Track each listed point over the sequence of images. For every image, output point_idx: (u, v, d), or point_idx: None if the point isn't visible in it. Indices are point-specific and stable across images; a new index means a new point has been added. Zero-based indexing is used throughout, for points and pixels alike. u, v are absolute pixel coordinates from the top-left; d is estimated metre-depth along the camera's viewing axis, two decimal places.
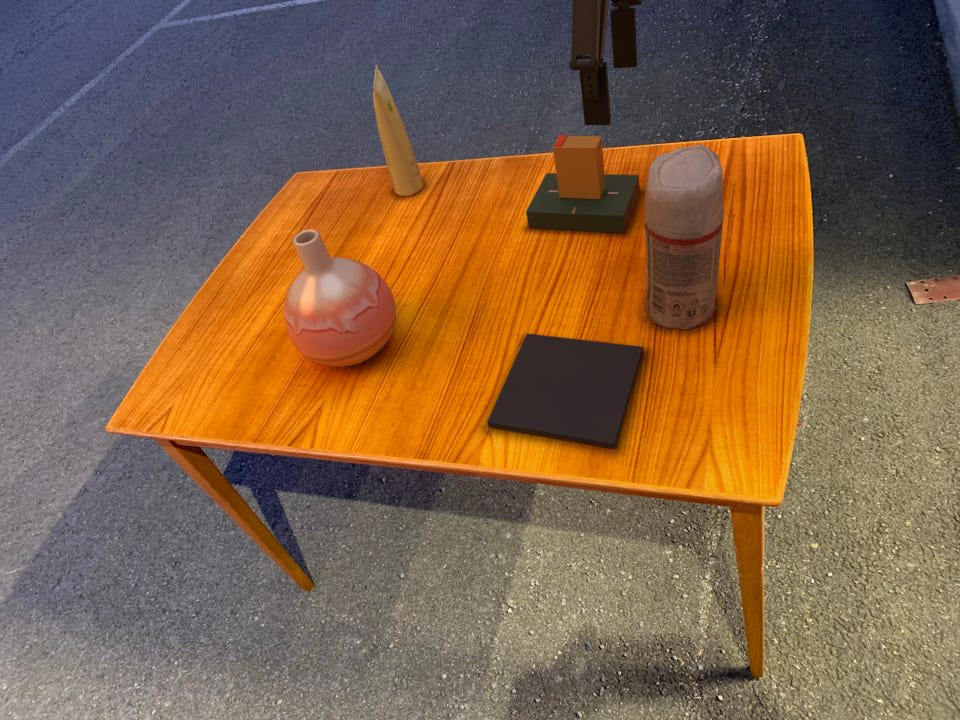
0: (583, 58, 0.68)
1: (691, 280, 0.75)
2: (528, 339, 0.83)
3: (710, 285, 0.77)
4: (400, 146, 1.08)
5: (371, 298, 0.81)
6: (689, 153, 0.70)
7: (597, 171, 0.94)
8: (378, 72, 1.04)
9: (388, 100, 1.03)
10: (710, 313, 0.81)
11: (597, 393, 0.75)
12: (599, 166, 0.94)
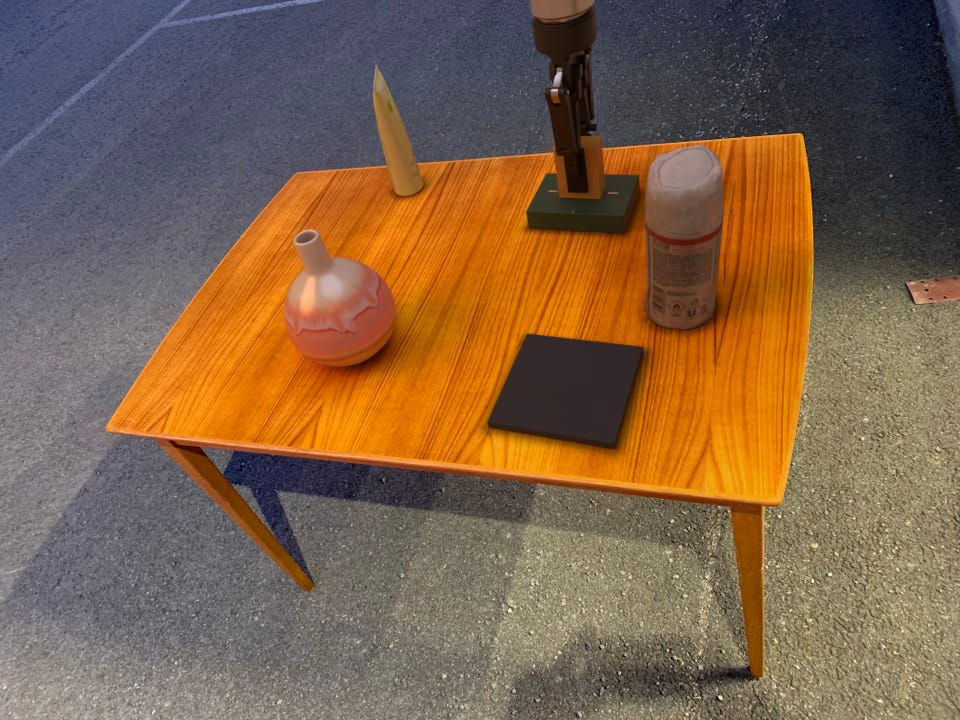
0: None
1: (691, 280, 0.75)
2: (528, 339, 0.83)
3: (710, 285, 0.77)
4: (400, 146, 1.08)
5: (371, 298, 0.81)
6: (689, 153, 0.70)
7: (597, 171, 0.94)
8: (378, 72, 1.04)
9: (388, 100, 1.03)
10: (710, 313, 0.81)
11: (597, 393, 0.75)
12: (599, 166, 0.94)
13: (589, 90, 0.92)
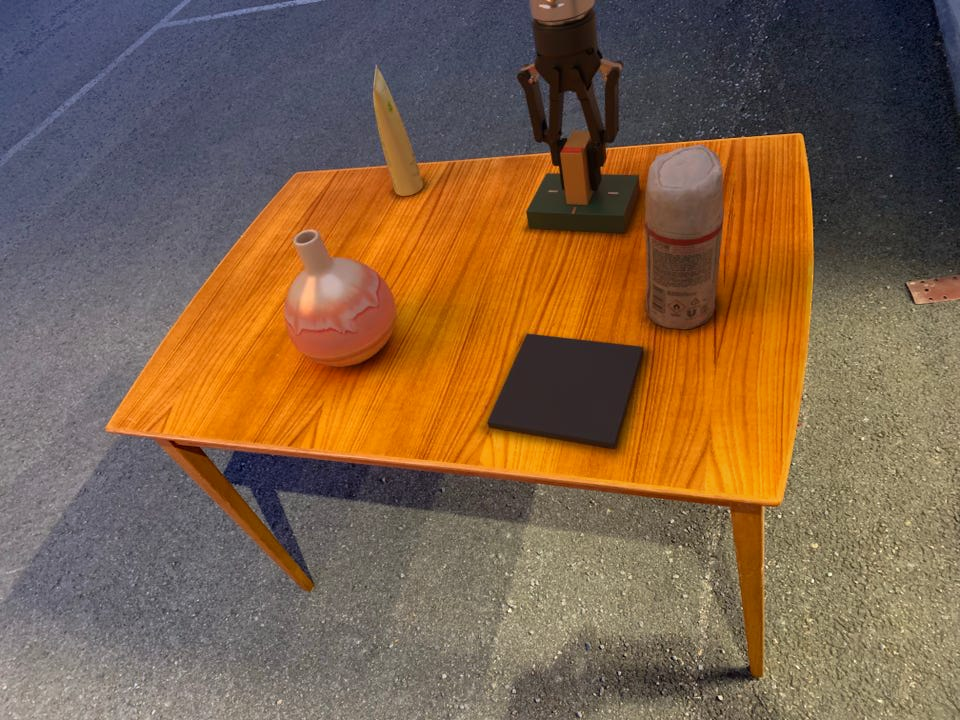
0: None
1: (691, 280, 0.75)
2: (528, 339, 0.83)
3: (710, 285, 0.77)
4: (400, 146, 1.08)
5: (371, 298, 0.81)
6: (689, 153, 0.70)
7: None
8: (378, 72, 1.04)
9: (388, 100, 1.03)
10: (710, 313, 0.81)
11: (597, 393, 0.75)
12: None
13: (542, 104, 0.93)
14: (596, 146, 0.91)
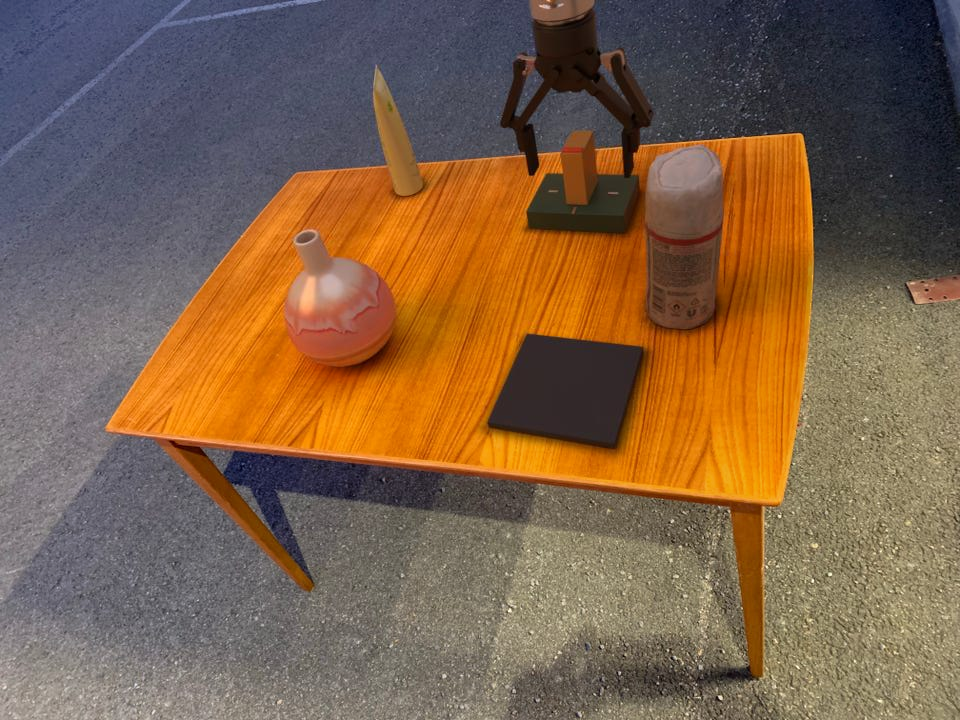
0: (648, 114, 0.87)
1: (691, 280, 0.75)
2: (528, 339, 0.83)
3: (710, 285, 0.77)
4: (400, 146, 1.08)
5: (371, 298, 0.81)
6: (689, 153, 0.70)
7: (595, 154, 0.97)
8: (378, 72, 1.04)
9: (388, 100, 1.03)
10: (710, 313, 0.81)
11: (597, 393, 0.75)
12: None
13: (520, 94, 0.93)
14: (631, 130, 0.88)
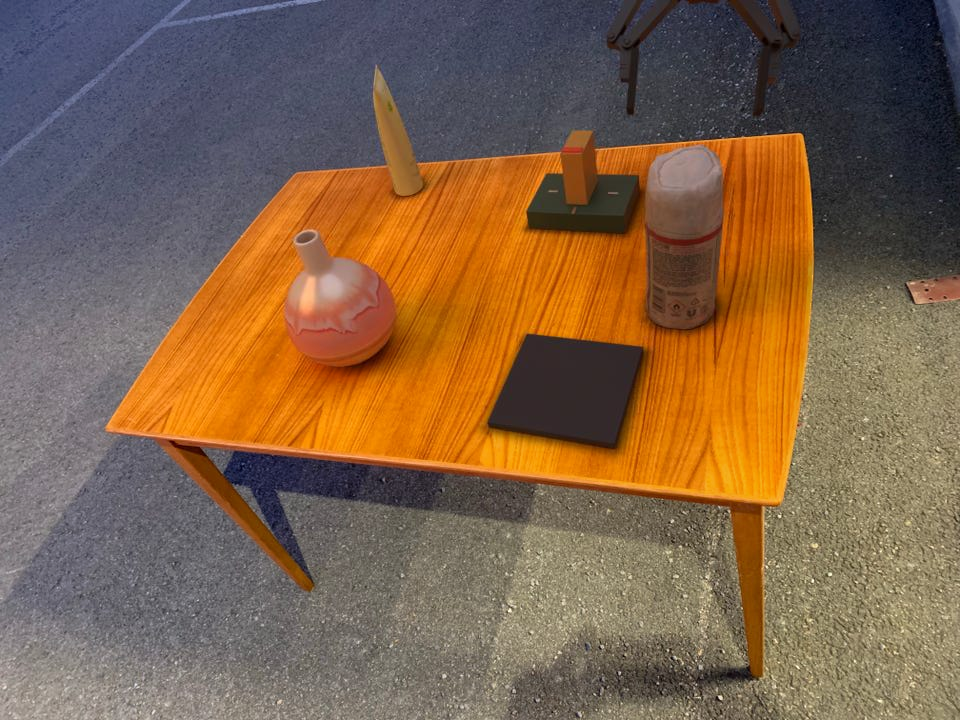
0: None
1: (691, 280, 0.75)
2: (528, 339, 0.83)
3: (710, 285, 0.77)
4: (400, 146, 1.08)
5: (371, 298, 0.81)
6: (689, 153, 0.70)
7: (595, 154, 0.97)
8: (378, 72, 1.04)
9: (388, 100, 1.03)
10: (710, 313, 0.81)
11: (597, 393, 0.75)
12: None
13: (776, 4, 0.73)
14: None
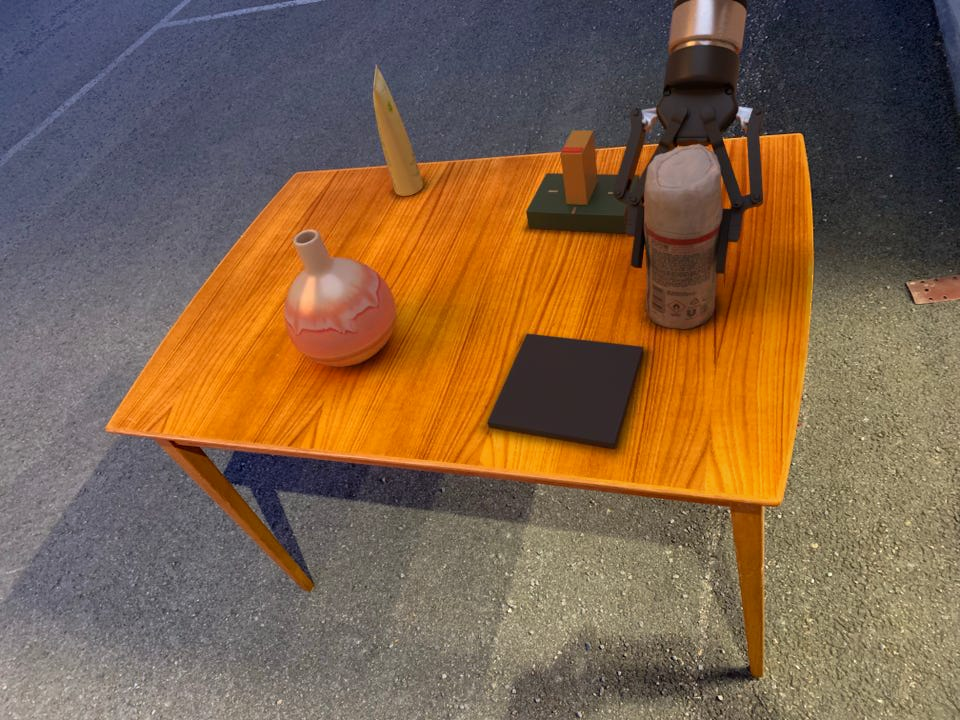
0: None
1: (690, 279, 0.75)
2: (528, 339, 0.83)
3: (710, 284, 0.77)
4: (400, 146, 1.08)
5: (371, 298, 0.81)
6: (687, 153, 0.70)
7: (595, 154, 0.97)
8: (378, 72, 1.04)
9: (388, 100, 1.03)
10: (710, 312, 0.81)
11: (597, 393, 0.75)
12: None
13: (748, 162, 0.71)
14: None
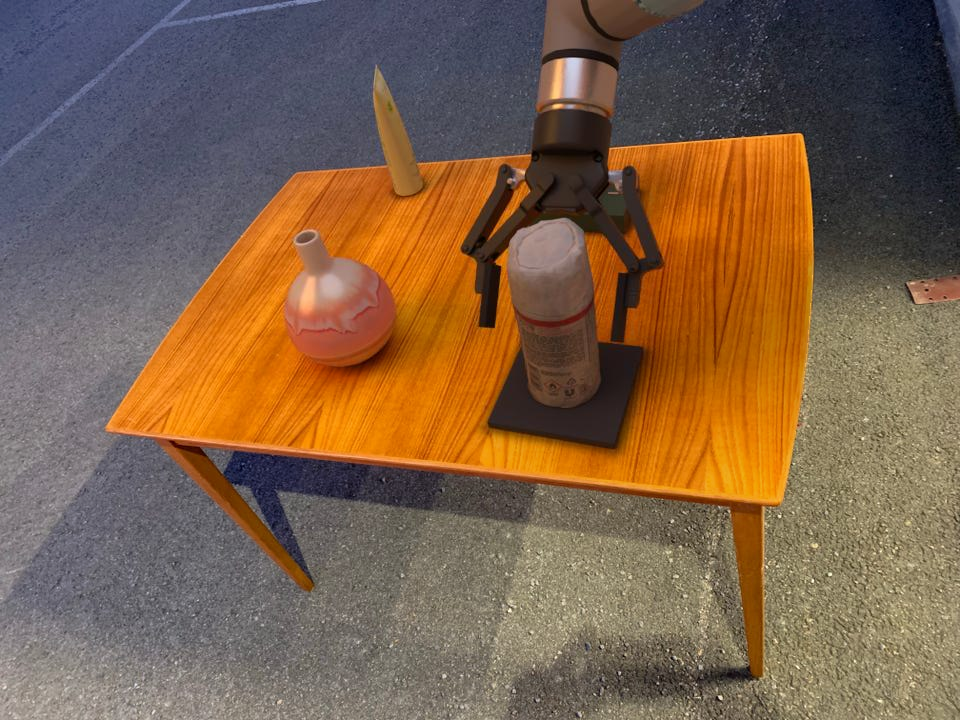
0: None
1: (563, 360, 0.69)
2: None
3: (586, 364, 0.71)
4: (400, 146, 1.08)
5: (371, 298, 0.81)
6: (551, 228, 0.64)
7: None
8: (378, 72, 1.04)
9: (388, 100, 1.03)
10: (593, 390, 0.75)
11: (597, 393, 0.75)
12: None
13: (634, 226, 0.64)
14: None
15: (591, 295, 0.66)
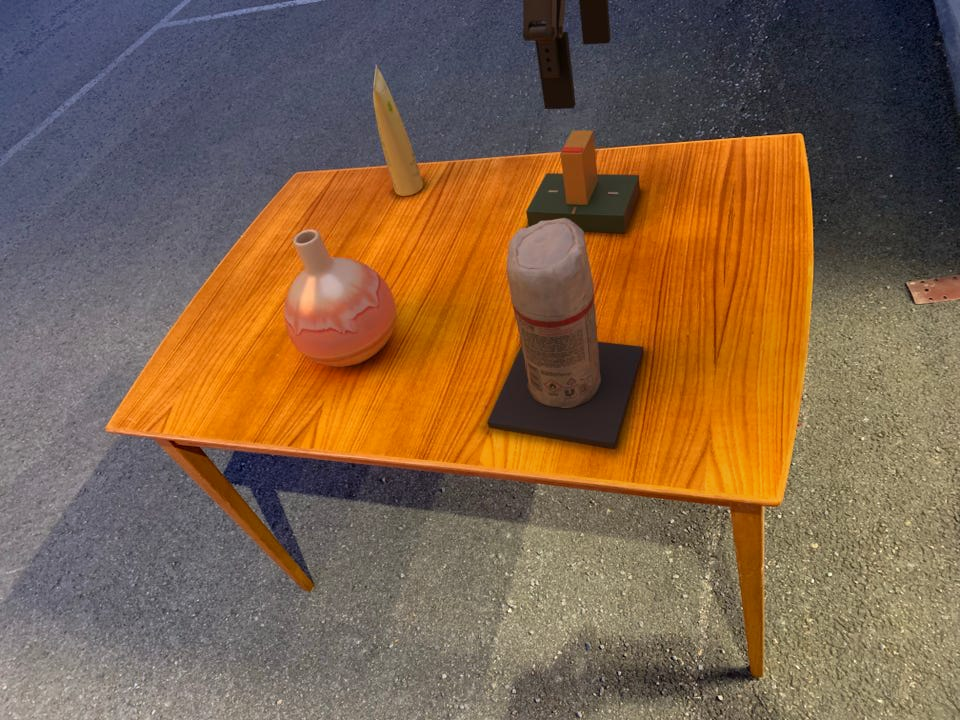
0: (537, 26, 0.56)
1: (562, 361, 0.69)
2: None
3: (586, 364, 0.71)
4: (400, 146, 1.08)
5: (371, 298, 0.81)
6: (551, 228, 0.64)
7: (595, 154, 0.97)
8: (378, 72, 1.04)
9: (388, 100, 1.03)
10: (593, 390, 0.75)
11: (597, 393, 0.75)
12: None
13: None
14: None
15: (591, 295, 0.66)
